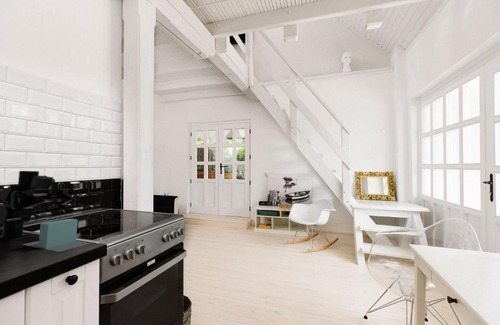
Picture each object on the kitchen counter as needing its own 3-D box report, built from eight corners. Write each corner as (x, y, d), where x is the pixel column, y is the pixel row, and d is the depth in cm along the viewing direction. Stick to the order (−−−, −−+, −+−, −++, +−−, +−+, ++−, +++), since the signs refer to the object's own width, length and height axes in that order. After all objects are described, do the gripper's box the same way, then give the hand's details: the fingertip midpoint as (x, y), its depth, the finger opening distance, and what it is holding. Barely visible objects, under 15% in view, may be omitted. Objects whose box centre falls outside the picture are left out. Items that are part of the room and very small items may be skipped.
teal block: (38, 247, 78) (40, 223, 79) (68, 240, 87) (70, 218, 88) (46, 248, 77) (48, 224, 77) (76, 241, 86) (77, 219, 86)
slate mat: (22, 246, 80) (22, 244, 80) (55, 239, 90) (55, 237, 90) (59, 254, 74) (59, 251, 74) (90, 245, 84) (90, 243, 84)
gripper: (1, 176, 82) (29, 177, 77) (59, 176, 100) (85, 177, 95) (-2, 207, 81) (26, 211, 76) (57, 202, 99) (83, 205, 94)
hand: (58, 199), depth 85 cm, fingers open, 9 cm apart
